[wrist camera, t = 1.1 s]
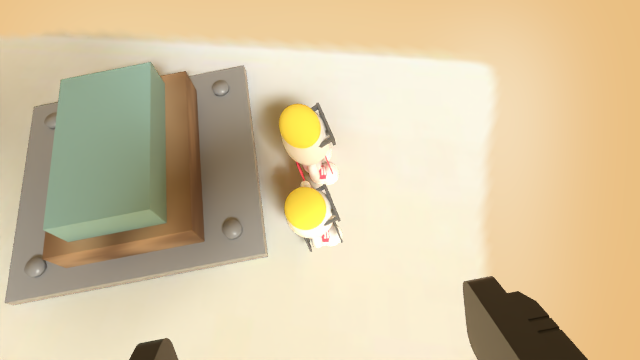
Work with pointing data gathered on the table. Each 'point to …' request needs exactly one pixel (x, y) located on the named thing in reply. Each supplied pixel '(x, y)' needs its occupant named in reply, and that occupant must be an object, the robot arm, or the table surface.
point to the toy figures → (311, 175)
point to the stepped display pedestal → (136, 182)
